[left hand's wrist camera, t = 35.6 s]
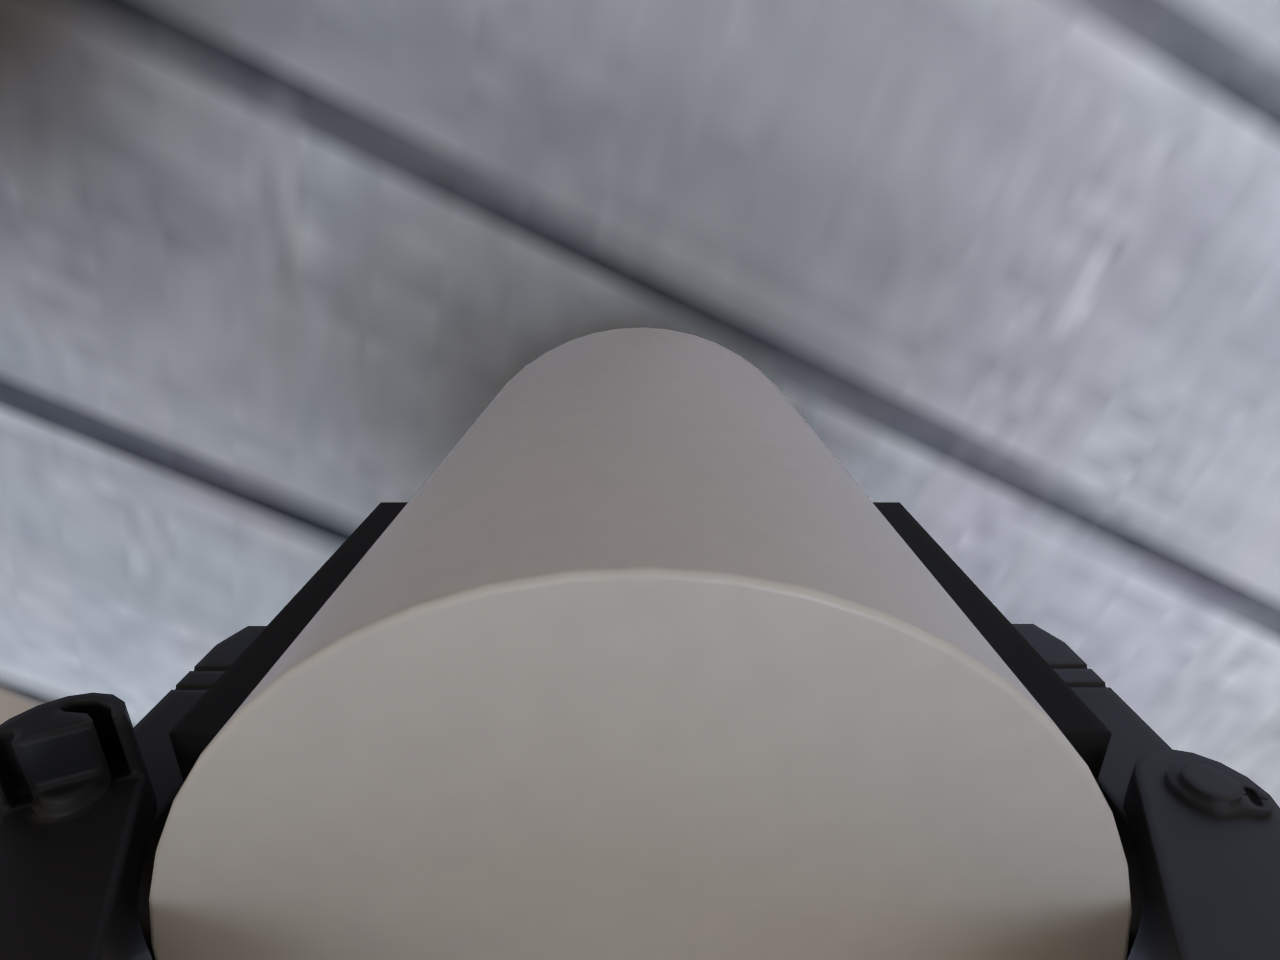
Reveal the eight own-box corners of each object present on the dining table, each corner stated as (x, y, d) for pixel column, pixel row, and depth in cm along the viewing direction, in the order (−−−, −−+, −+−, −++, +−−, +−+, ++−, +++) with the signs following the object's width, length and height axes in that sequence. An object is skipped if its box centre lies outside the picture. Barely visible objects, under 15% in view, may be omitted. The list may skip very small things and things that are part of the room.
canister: (579, 701, 19) (500, 1318, 8) (391, 439, 16) (-84, 857, 6) (870, 566, 18) (1233, 1108, 7) (718, 253, 15) (925, 337, 4)
